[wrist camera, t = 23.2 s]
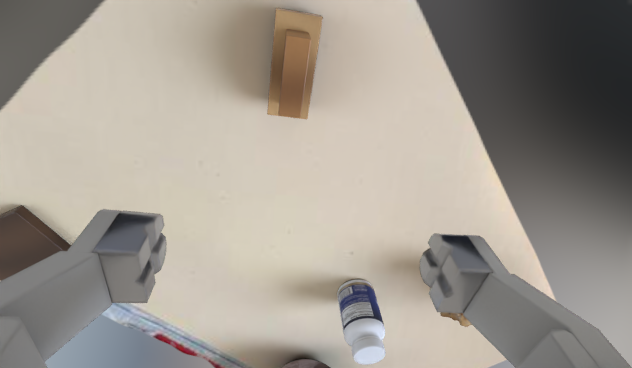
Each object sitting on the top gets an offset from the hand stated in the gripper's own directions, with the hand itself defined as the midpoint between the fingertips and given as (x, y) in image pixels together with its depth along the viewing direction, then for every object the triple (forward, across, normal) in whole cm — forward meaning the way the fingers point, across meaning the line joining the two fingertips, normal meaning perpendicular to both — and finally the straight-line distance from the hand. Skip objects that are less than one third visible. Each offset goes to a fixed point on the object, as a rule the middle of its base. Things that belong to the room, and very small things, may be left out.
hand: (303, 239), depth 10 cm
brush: (+23, 0, 0) cm, 23 cm away
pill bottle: (+23, -13, +31) cm, 41 cm away
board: (+23, +29, +26) cm, 45 cm away
